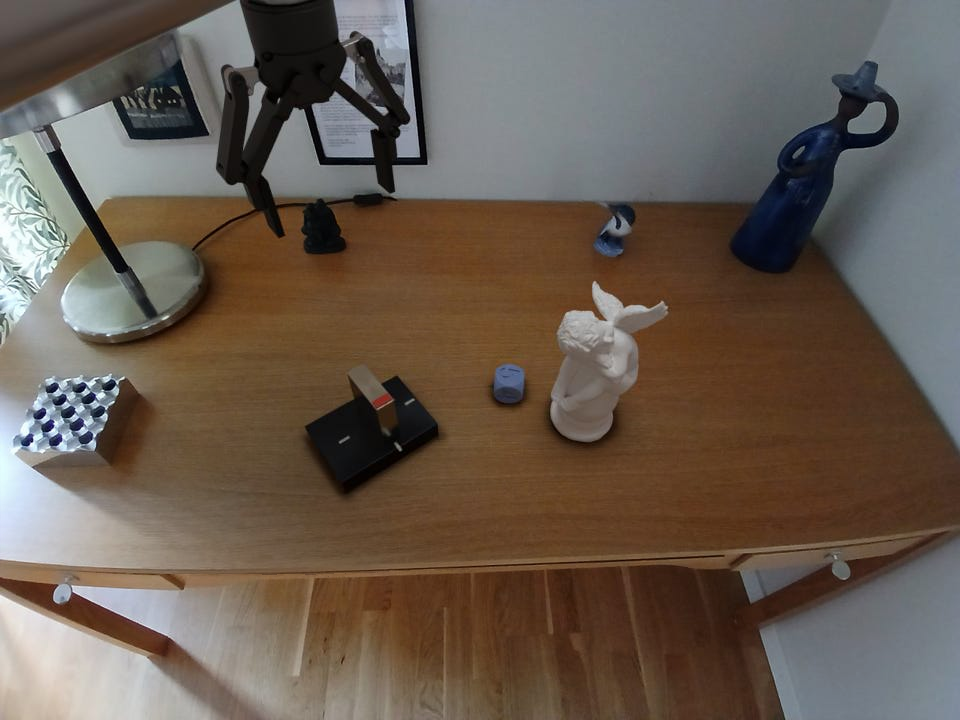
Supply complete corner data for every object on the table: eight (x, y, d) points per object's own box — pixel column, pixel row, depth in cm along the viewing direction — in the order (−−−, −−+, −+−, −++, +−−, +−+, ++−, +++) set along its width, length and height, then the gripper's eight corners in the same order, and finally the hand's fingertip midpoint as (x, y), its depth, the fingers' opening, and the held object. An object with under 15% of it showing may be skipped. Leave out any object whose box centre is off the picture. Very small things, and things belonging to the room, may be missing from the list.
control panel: (348, 497, 69) (343, 485, 66) (307, 435, 74) (301, 422, 72) (441, 438, 74) (440, 425, 72) (396, 385, 80) (394, 371, 77)
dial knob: (356, 407, 73) (346, 371, 68) (371, 398, 74) (363, 362, 68) (384, 444, 70) (376, 409, 64) (400, 434, 71) (393, 398, 65)
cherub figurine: (543, 443, 74) (565, 331, 57) (536, 370, 82) (554, 252, 65) (634, 443, 74) (683, 331, 57) (618, 370, 82) (657, 253, 65)
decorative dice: (521, 404, 78) (523, 387, 75) (493, 402, 78) (494, 385, 75) (523, 382, 80) (525, 364, 77) (495, 379, 81) (496, 362, 77)
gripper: (141, 39, 39) (239, 270, 55) (436, -28, 49) (445, 185, 65) (111, 7, 43) (211, 232, 59) (391, -49, 52) (410, 157, 69)
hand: (334, 208), depth 62 cm, fingers open, 13 cm apart
